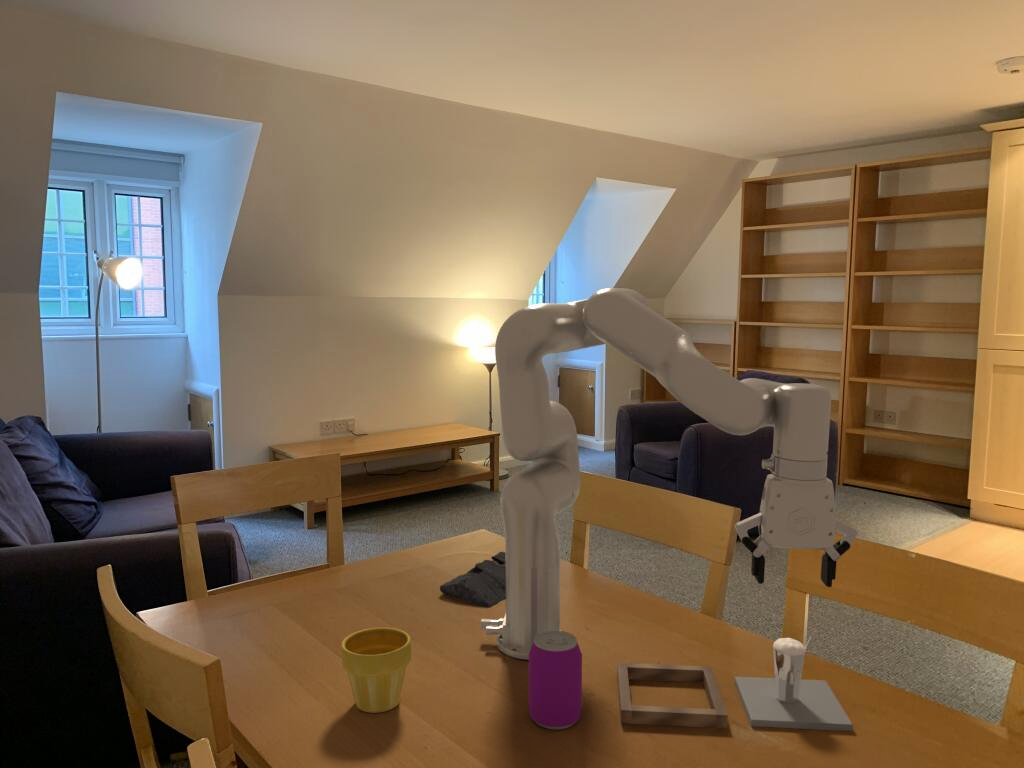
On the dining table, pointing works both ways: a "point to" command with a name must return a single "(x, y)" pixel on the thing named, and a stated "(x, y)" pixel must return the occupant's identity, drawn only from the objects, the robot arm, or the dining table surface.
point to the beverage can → (555, 680)
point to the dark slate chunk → (481, 583)
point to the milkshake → (788, 668)
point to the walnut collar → (671, 715)
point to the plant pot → (376, 666)
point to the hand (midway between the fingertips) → (792, 582)
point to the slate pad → (792, 705)
